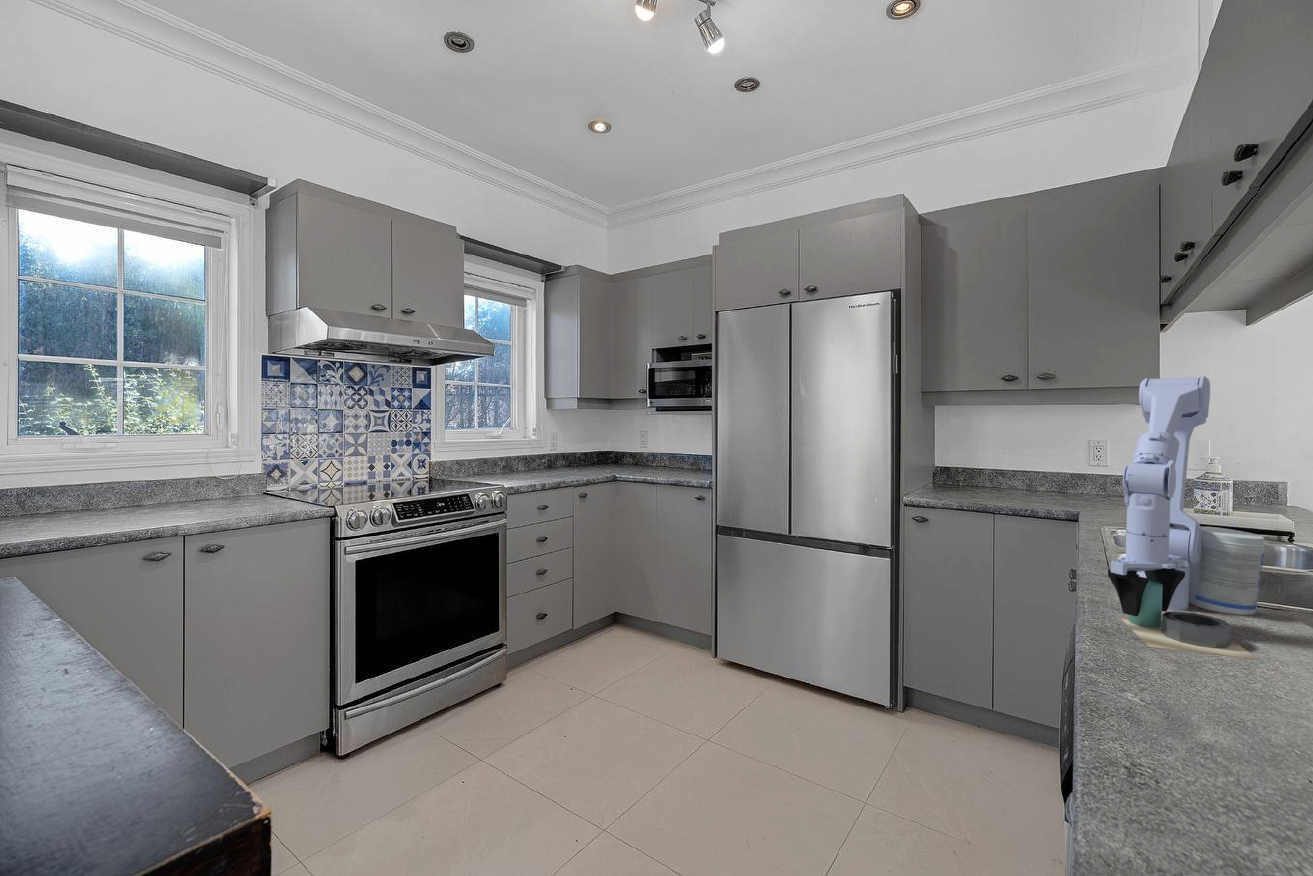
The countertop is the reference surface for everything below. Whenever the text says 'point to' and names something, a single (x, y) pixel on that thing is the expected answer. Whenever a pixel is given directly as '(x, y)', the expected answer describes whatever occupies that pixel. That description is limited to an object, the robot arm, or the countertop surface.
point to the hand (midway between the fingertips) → (1144, 612)
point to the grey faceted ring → (1196, 629)
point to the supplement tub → (1227, 571)
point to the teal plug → (1150, 607)
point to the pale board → (1159, 640)
